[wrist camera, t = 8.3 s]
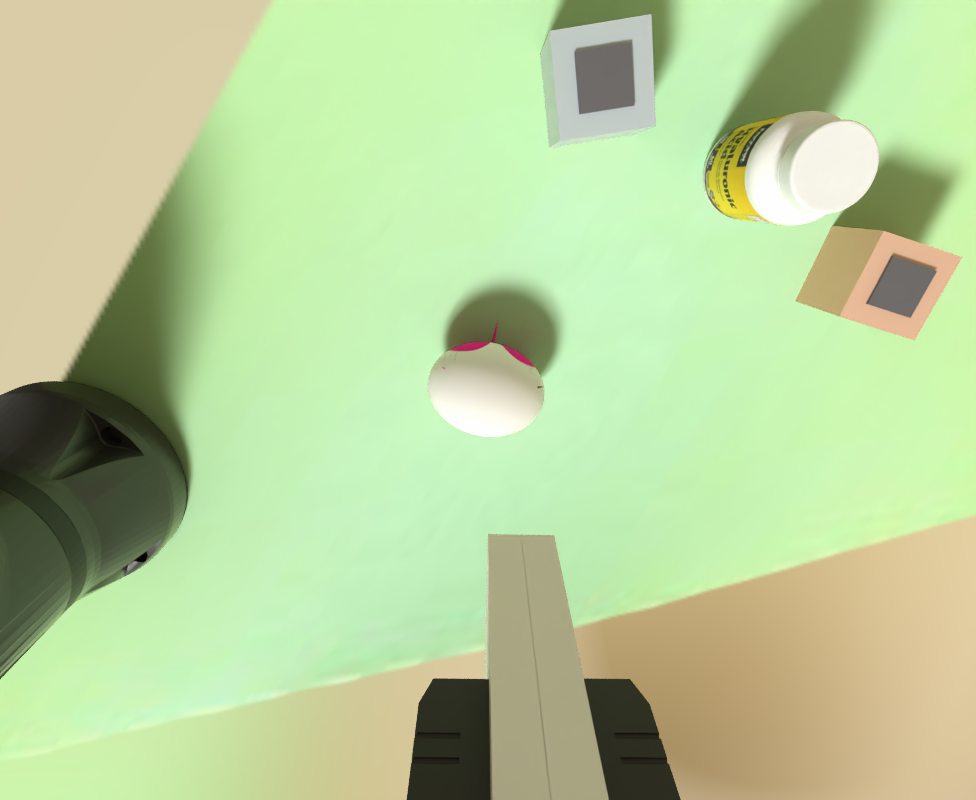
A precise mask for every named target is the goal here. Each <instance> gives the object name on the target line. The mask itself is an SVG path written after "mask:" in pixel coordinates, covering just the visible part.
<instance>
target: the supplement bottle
mask: <svg viewBox="0 0 976 800" xmlns="http://www.w3.org/2000/svg"><path fill="white" fill-rule="evenodd" d="M878 165H879V149H878V145H877V142H876V140H875V138H874V136H873V134H872V133H871V131H870V130H869V129H868V128H866V127H865V126H864V125H862V124H860V123H858V122H855V121H852V120H841V119H840V118H838V117H836V116H835V115H832V114H830V113H826V112H821V111H804V112H797V113H792V114H788V115H784V116H780V117H776V118H771V119H767V120H763V121H758V122H754V123H750V124H746V125H743V126H740V127H738V128H736V129H734V130H732V131H730V132H728V133H727V134H726V135H724V136H723V137H722V138H721V139H720V140H719V141H718V142H717V143H716V144H715V145H714V147H713V148H712V150H711V151H710V153H709V155H708V157H707V160H706V162H705V166H704V170H703V188H704V192H705V195H706V197H707V199H708V201H709V203H710V204H711V205H712V206H713V207H714V208H715V209H716V210H717V211H718V212H720V213H721V214H723V215H725V216H728V217H731V218H734V219H740V220H748V221H755V222H763V223H771V224H779V225H801V224H806V223H809V222H812V221H815V220H817V219H819V218H821V217H823V216H825V215H826V214H829V213H835V212H838V211H841V210H844V209H846V208H848V207H849V206H851V205H853V204H854V203H855V202H857V201H858V200H859V199H860V198H861V197H862V196H863V195H864V194H865V193H866V192H867V190H868V189H869V187H870V186H871V184H872V182H873V180H874V178H875V175H876V173H877V169H878Z"/></svg>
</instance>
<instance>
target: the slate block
mask: <svg viewBox="0 0 976 800" xmlns="http://www.w3.org/2000/svg"><path fill="white" fill-rule="evenodd" d="M540 57H541V67H542V77H543V88H544V98H545V108H546V118H547V128H548V139H549V148H552V147H559V146H565V145H571V144H578V143H584V142H590V141H597V140H603V139H610V138H616V137H622V136H629V135H633V134H636V133H639V132H641V131H644V130H646V129H649V128H652V127H654V126H656V119H655V92H654V66H653V39H652V14H648V15H642V16H636V17H630V18H624V19H618V20H612V21H606V22H600V23H594V24H588V25H582V26H576V27H570V28H564V29H558V30H552V31H550V32H549V34H548V37H547V39H546V41H545V44H544V46H543V48H542V51H541V53H540Z"/></svg>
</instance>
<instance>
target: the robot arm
mask: <svg viewBox="0 0 976 800" xmlns="http://www.w3.org/2000/svg"><path fill="white" fill-rule="evenodd" d="M186 495H187V494H186V483H185V478H184V473H183V470H182V467H181V464H180V462H179V460H178V458H177V455H176V453H175V452H174V450H173V448H172V446H171V445H170V443H169V442H168V440H167V439H166V438H165V436H164V435H163V434H162V433H161V432H160V430H159V429H158V428H157V427H156V426H155V425H154V424H153V423H152V422H151V421H150V420H149V419H148V418H147V417H145V416H144V415H143V414H142V413H141V412H139V411H138V410H137V409H135V408H134V407H132V406H131V405H129V404H128V403H126V402H124V401H123V400H121V399H119V398H117V397H115V396H113V395H111V394H109V393H107V392H104V391H102V390H99V389H96V388H93V387H90V386H86V385H82V384H76V383H70V382H58V381H54V382H53V381H52V382H39V383H33V384H29V385H25V386H22V387H19V388H16V389H14V390H11V391H9V392H7V393H4V394H2V395H0V679H1V678H2V677H3V676H4V675H5V674H6V673H7V671H8V670H9V669H10V668H11V667H12V666H13V665H14V664H15V663H16V662H17V661H18V660H19V659H20V658H21V657H22V656H23V655H24V654H25V653H26V652H27V651H28V650H29V649H30V648H31V646H32V645H33V644H34V643H35V642H36V641H37V640H38V639H39V638H40V637H41V636H42V635H43V634H44V633H45V632H46V631H47V630H48V629H49V628H50V627H51V626H52V625H53V624H54V623H55V621H56V620H57V619H58V618H59V617H60V616H61V615H62V614H63V613H64V612H65V611H66V610H67V609H68V608H69V607H70V606H71V605H72V604H73V603H74V602H75V601H77V600H79V599H81V598H83V597H85V596H87V595H89V594H91V593H93V592H95V591H97V590H99V589H101V588H103V587H105V586H106V585H108V584H110V583H112V582H114V581H116V580H118V579H120V578H122V577H124V576H126V575H128V574H130V573H132V572H134V571H136V570H137V569H139V568H141V567H142V566H143V565H145V564H146V563H147V562H149V561H150V560H151V559H152V558H153V557H154V556H155V555H156V554H157V553H158V552H159V551H160V550H161V549H162V548H163V547H164V545H165V544H166V543H167V542H168V541H169V540H170V539H171V538H172V536H173V535H174V534H175V532H176V531H177V529H178V527H179V525H180V523H181V521H182V518H183V515H184V512H185V507H186ZM485 658H486V659H485V660H486V661H485V662H486V679H433V680H432V682H431V684H430V685H429V687H428V689H427V690H426V692H425V694H424V695H423V697H422V699H421V700H420V702H419V706H418V714H417V722H416V730H415V738H414V746H413V754H412V763H411V771H410V778H409V786H408V794H407V800H680V797H679V793H678V791H677V787H676V784H675V781H674V778H673V775H672V772H671V769H670V766H669V764H668V763H667V757H666V753H665V750H664V747H663V744H662V741H661V739H659V732H658V729H657V726H656V723H655V720H654V717H653V713H652V710H651V707H650V704H649V703H648V702H647V700H646V699H645V698H644V696H643V695H642V694H641V693H640V691H639V690H638V689H637V688H636V686H635V685H634V684H633V683H632V681H631V680H630V679H584V678H583V673H582V668H581V663H580V658H579V654H578V649H577V644H576V639H575V634H574V629H573V625H572V620H571V615H570V610H569V605H568V600H567V596H566V591H565V586H564V581H563V576H562V571H561V567H560V562H559V557H558V552H557V547H556V543H555V538H554V535H497V534H488V557H487V590H486V623H485Z"/></svg>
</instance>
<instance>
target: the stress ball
mask: <svg viewBox="0 0 976 800" xmlns="http://www.w3.org/2000/svg"><path fill="white" fill-rule="evenodd" d="M497 325H498V322H497ZM496 330H497V326H496V329H495V332H494V336H493V339H492V343H491V342H471V343H466V344H462V345H459V346H456V347H454V348H452V349H450V350H448V351H447V352H446V353H444V354H443V355H442V356H441V357H440V358H439V359H438V360H437V361H436V363H435V364H434V366H433V367H432V369H431V372H430V375H429V380H428V391H429V396H430V399H431V401H432V403H433V405H434V407H435V409H436V410H437V412H438V413H439V414H440V415H441V416H442V417H443V418H444V419H445V420H446V421H447V422H448V423H450V424H451V425H453V426H454V427H456V428H458V429H460V430H462V431H464V432H467V433H470V434H474V435H478V436H485V437H498V436H505V435H509V434H512V433H515V432H517V431H519V430H521V429H523V428H525V427H526V426H528V425H529V424H530V423H531V422H532V421H533V420H534V419H535V418H536V416H537V415H538V414H539V412H540V410H541V408H542V405H543V401H544V386H543V382H542V379H541V377H540V374H539V372H538V371H537V369H536V368H535V367H534V365H533V364H532V363H531V362H530V361H529V360H528V359H527V358H526V357H524V356H523V355H522V354H520V353H519V352H517V351H515V350H513V349H511V348H509V347H507V346H504V345H501V344H497V343H494V341H495V336H496Z"/></svg>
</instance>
